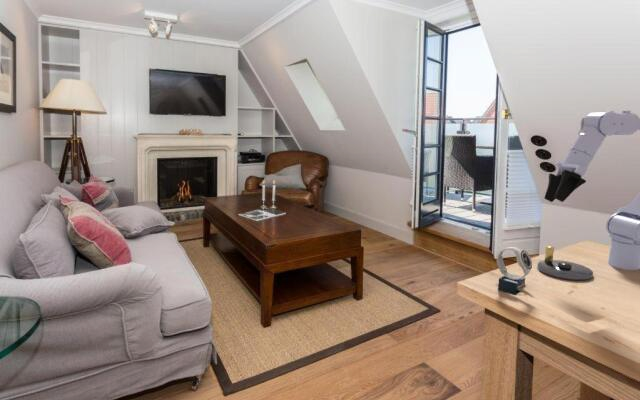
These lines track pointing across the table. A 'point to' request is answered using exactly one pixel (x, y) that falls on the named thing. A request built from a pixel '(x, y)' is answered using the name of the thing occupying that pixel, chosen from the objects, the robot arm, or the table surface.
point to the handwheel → (563, 268)
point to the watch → (511, 281)
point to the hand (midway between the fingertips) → (553, 200)
